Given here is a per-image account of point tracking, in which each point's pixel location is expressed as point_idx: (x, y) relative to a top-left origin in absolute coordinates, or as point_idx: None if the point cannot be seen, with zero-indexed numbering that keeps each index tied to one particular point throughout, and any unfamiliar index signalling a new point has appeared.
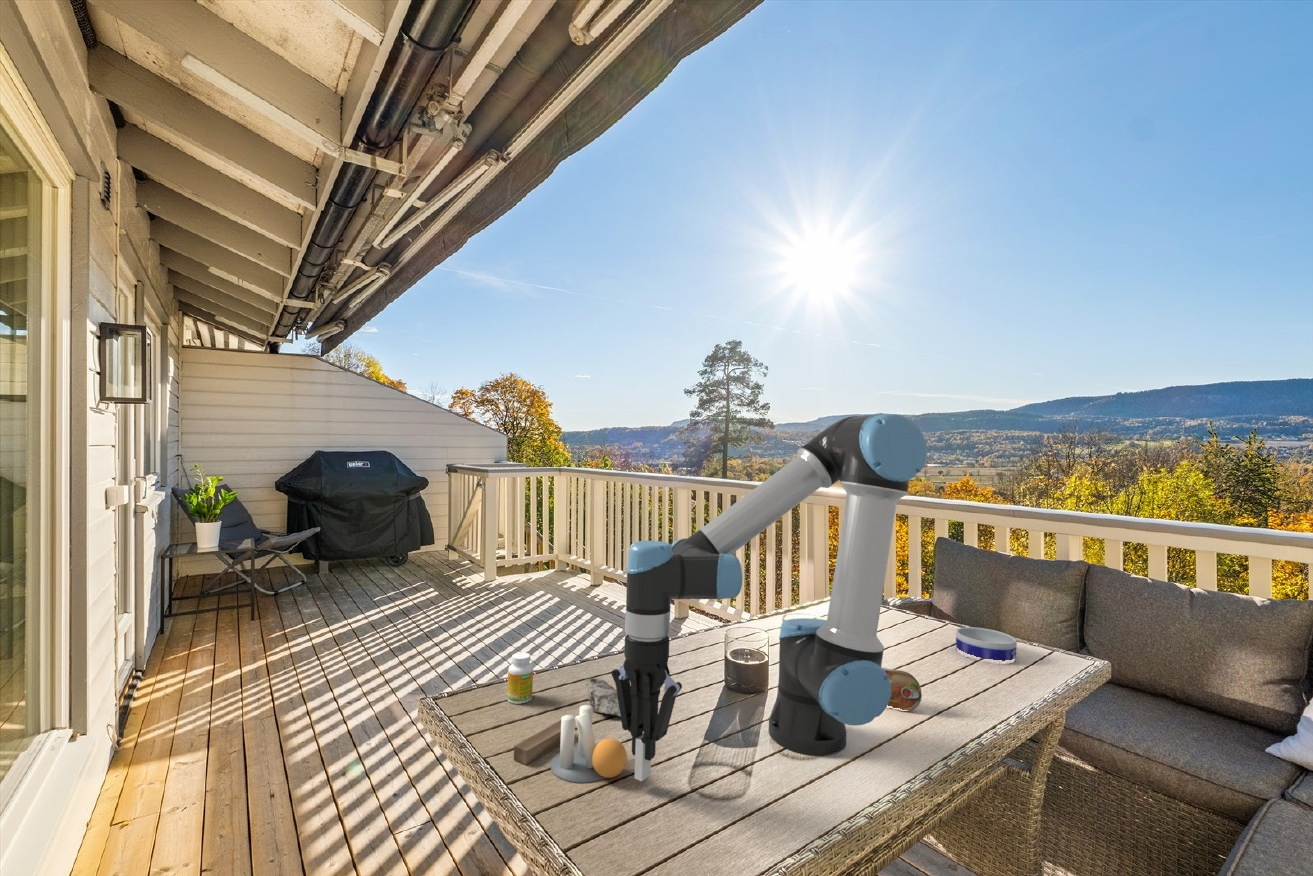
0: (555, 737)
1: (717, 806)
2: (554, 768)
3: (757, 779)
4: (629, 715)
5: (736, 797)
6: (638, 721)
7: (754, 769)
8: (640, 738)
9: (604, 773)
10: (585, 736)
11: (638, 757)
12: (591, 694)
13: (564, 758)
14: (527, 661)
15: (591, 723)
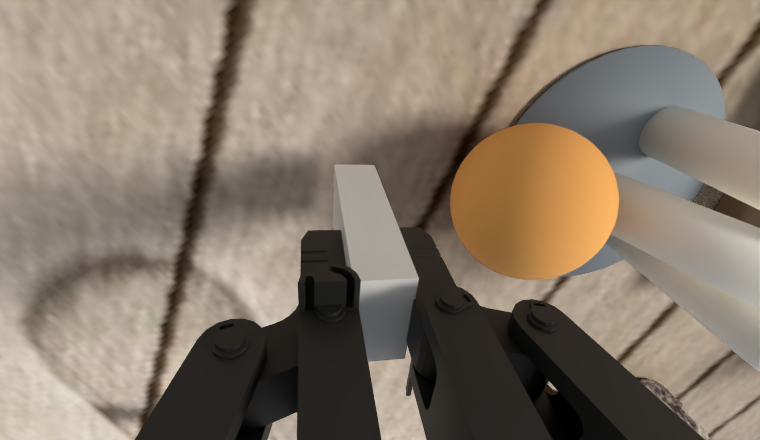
0: (755, 216)
1: (34, 238)
2: (705, 86)
3: (64, 406)
4: (560, 419)
5: (31, 312)
6: (451, 406)
7: (113, 430)
8: (392, 300)
9: (508, 127)
10: (697, 218)
11: (371, 215)
12: (690, 420)
13: (703, 118)
14: None
15: (691, 303)
